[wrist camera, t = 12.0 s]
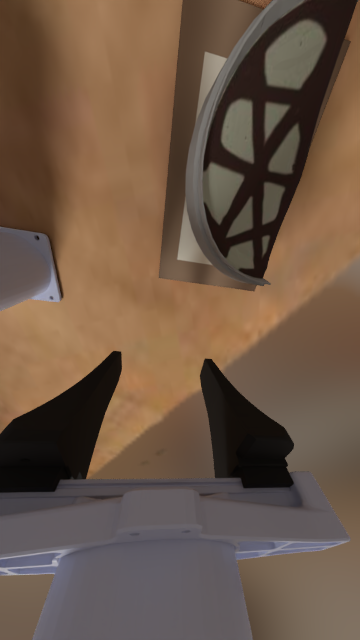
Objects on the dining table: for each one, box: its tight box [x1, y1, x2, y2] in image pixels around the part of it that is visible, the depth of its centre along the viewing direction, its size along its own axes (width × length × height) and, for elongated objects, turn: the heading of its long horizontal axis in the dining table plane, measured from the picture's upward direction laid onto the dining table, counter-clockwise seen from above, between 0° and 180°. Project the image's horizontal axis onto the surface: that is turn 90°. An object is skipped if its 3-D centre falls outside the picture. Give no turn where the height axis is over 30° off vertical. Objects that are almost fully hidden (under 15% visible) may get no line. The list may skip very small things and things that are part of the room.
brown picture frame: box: [159, 0, 351, 291], centre depth 16 cm, size 13×20×1 cm, turn 171°
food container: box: [185, 0, 358, 286], centre depth 12 cm, size 12×6×10 cm, turn 174°
